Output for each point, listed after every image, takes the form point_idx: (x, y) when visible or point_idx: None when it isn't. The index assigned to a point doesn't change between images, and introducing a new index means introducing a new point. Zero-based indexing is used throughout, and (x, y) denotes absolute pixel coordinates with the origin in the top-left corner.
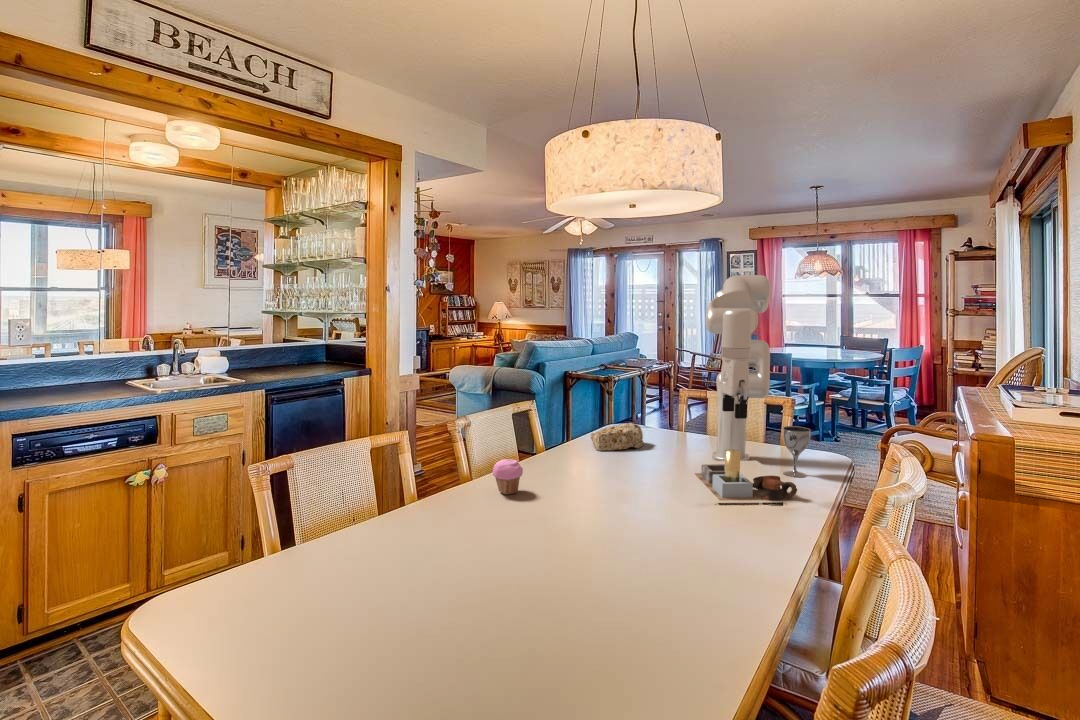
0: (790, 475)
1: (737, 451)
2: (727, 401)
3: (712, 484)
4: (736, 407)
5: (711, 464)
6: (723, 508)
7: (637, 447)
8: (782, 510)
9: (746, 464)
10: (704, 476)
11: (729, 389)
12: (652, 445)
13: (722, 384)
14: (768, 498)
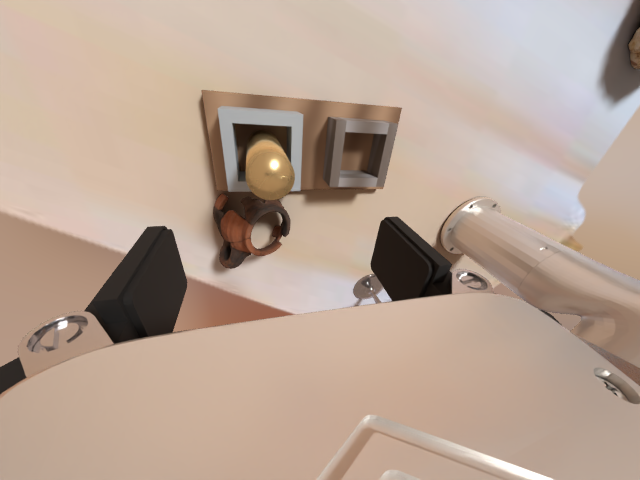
0: (363, 280)
1: (266, 190)
2: (407, 272)
3: (298, 112)
4: (115, 282)
5: (391, 150)
6: (182, 91)
7: (633, 40)
8: (192, 217)
9: (432, 239)
10: (364, 119)
11: (60, 468)
12: (616, 96)
13: (524, 399)
14: (217, 208)
